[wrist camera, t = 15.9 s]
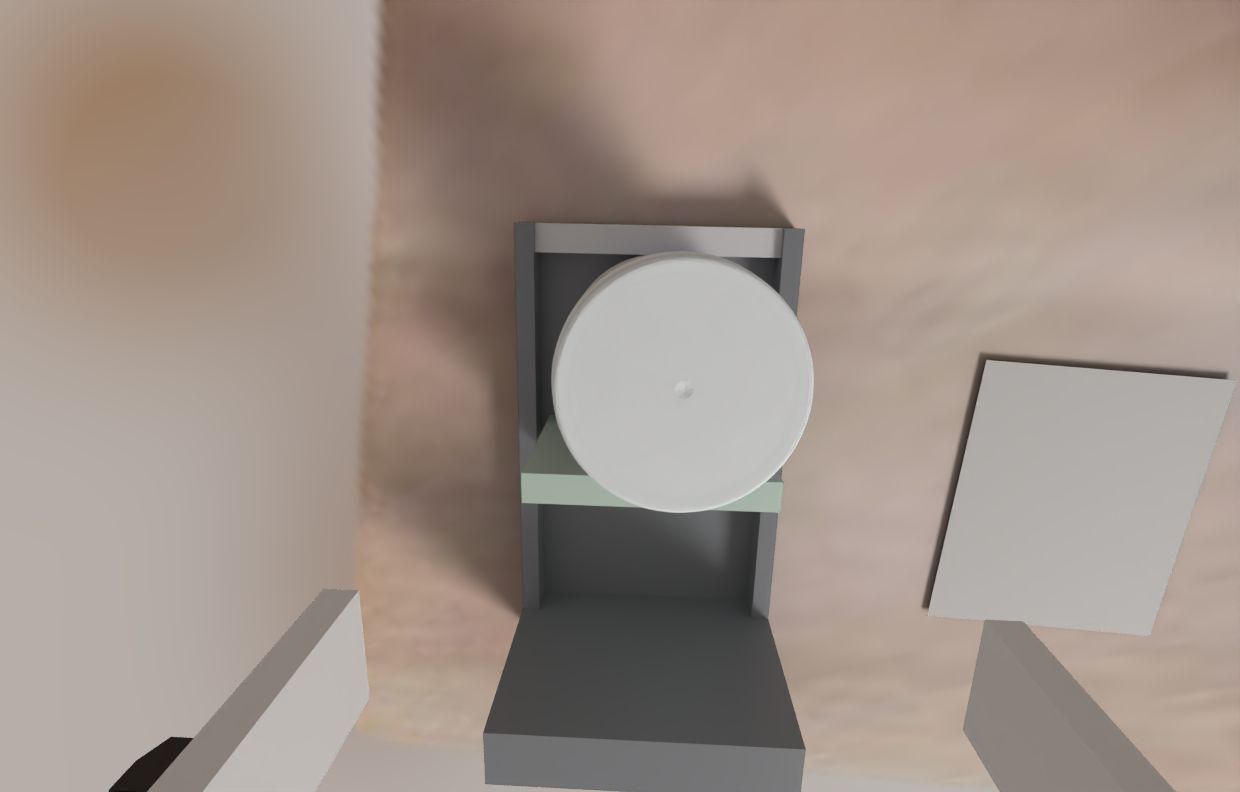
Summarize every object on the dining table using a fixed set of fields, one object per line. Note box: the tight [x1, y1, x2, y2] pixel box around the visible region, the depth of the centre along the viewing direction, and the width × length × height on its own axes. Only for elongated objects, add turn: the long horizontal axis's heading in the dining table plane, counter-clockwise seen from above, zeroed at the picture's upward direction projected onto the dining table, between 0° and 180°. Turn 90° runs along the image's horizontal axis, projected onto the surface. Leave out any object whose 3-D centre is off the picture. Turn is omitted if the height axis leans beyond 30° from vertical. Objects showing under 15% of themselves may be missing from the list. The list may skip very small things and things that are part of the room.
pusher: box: [521, 415, 783, 513], centre depth 34 cm, size 2×12×9 cm, turn 89°
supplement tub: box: [551, 251, 814, 513], centre depth 30 cm, size 10×10×15 cm
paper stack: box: [927, 360, 1237, 636], centre depth 40 cm, size 23×25×1 cm
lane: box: [483, 222, 806, 792], centre depth 34 cm, size 26×15×12 cm, turn 179°
